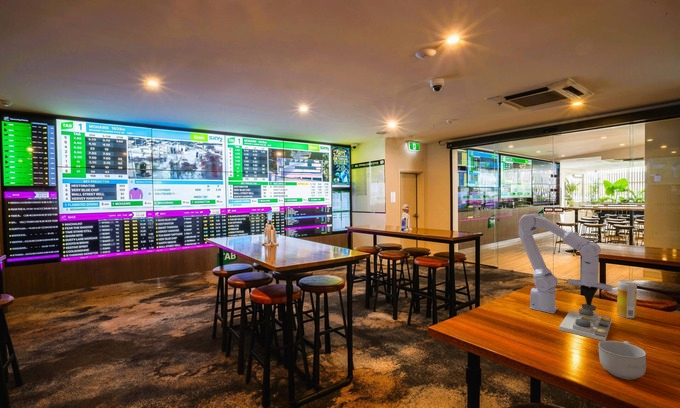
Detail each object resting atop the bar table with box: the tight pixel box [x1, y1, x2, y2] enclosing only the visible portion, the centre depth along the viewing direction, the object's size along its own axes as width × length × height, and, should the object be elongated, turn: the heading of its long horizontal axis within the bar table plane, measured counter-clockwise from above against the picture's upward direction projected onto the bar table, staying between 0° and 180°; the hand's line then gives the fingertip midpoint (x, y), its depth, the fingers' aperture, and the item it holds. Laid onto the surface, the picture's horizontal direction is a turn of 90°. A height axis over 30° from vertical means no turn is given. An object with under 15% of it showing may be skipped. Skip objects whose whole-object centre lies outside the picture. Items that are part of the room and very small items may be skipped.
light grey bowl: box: [597, 340, 647, 381], centre depth 98 cm, size 14×11×8 cm
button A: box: [576, 319, 591, 327], centre depth 125 cm, size 5×5×3 cm
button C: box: [581, 303, 597, 312], centre depth 135 cm, size 5×5×3 cm
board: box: [558, 310, 612, 342], centre depth 130 cm, size 14×22×3 cm, turn 136°
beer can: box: [616, 279, 638, 319], centre depth 139 cm, size 6×6×15 cm
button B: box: [578, 308, 594, 319], centre depth 130 cm, size 5×5×3 cm
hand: (589, 304), depth 135 cm, fingers closed
